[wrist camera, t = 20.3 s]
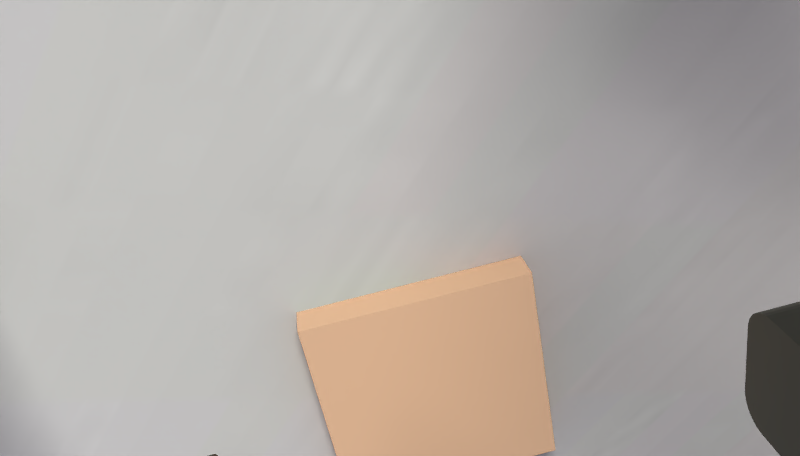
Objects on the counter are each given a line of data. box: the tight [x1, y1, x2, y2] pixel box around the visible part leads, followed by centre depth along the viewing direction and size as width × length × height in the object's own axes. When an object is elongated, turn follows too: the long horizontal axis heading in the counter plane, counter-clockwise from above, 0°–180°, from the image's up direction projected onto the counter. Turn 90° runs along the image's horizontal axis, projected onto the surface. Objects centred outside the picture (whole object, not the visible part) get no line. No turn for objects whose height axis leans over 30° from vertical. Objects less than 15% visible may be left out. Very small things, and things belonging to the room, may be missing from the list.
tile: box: [297, 256, 555, 456], centre depth 40 cm, size 2×12×12 cm
